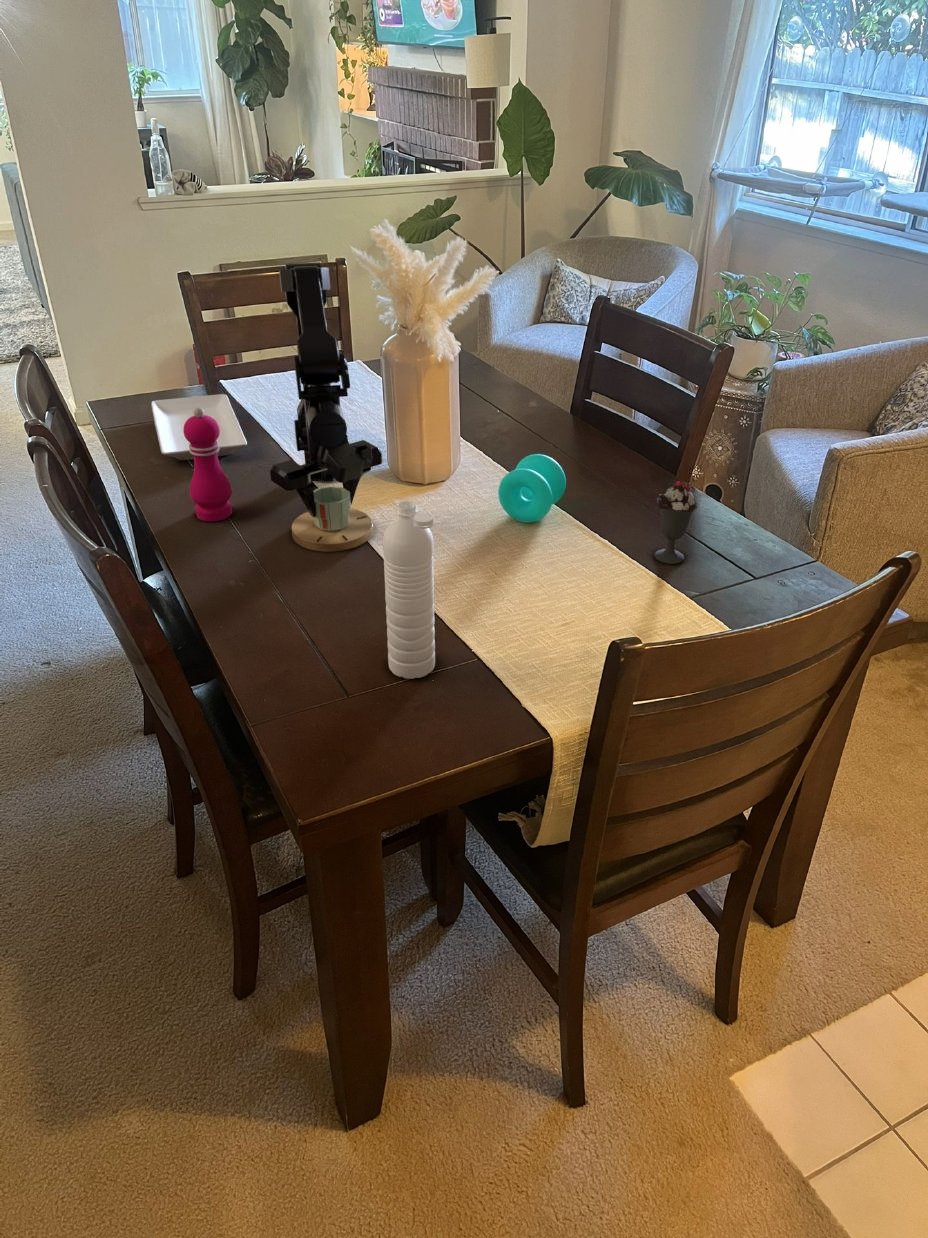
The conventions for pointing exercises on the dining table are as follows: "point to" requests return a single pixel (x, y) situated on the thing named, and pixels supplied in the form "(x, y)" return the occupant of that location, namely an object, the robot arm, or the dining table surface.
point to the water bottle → (410, 592)
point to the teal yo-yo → (532, 488)
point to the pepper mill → (207, 468)
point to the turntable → (332, 533)
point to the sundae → (674, 519)
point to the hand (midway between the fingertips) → (331, 510)
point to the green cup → (332, 508)
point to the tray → (179, 410)
